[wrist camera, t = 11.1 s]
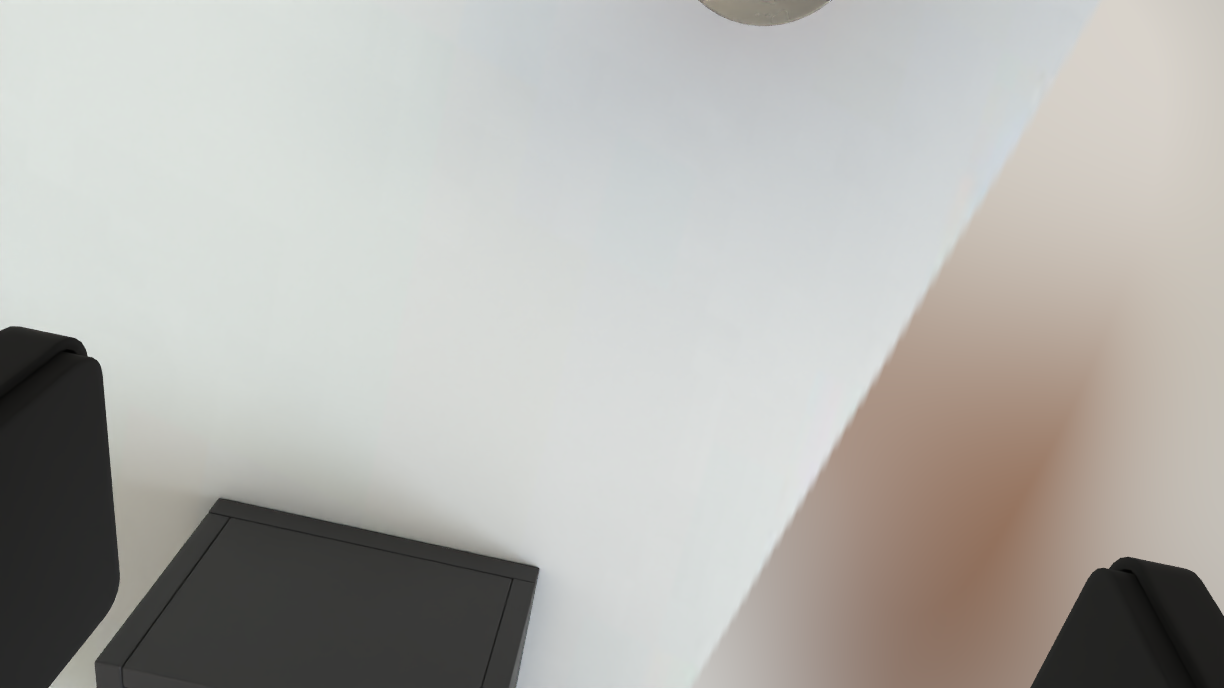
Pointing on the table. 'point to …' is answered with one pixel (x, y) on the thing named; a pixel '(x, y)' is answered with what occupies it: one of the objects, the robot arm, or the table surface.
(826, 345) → the table surface
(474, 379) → the table surface
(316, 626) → the black open box
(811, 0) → the coffee pod
